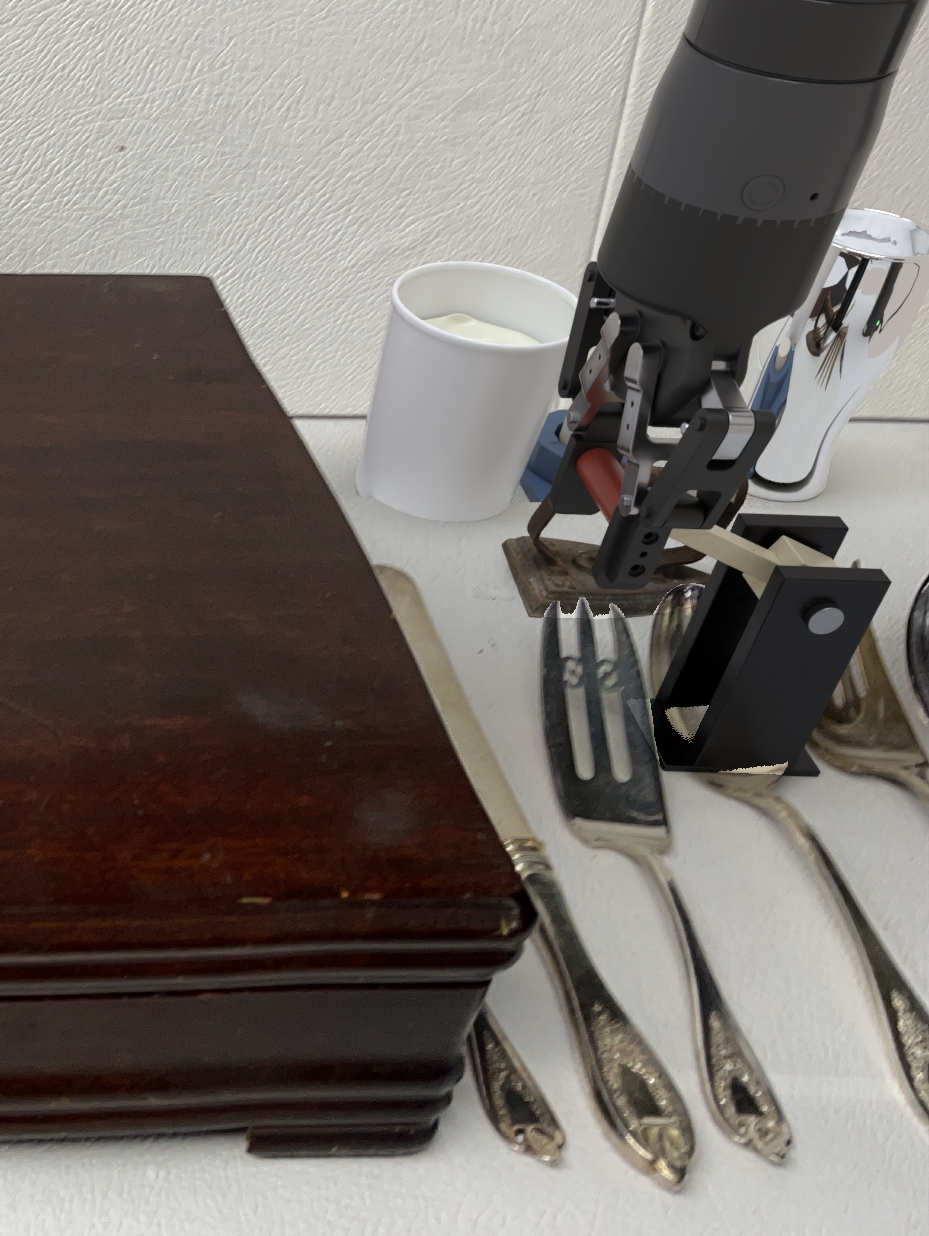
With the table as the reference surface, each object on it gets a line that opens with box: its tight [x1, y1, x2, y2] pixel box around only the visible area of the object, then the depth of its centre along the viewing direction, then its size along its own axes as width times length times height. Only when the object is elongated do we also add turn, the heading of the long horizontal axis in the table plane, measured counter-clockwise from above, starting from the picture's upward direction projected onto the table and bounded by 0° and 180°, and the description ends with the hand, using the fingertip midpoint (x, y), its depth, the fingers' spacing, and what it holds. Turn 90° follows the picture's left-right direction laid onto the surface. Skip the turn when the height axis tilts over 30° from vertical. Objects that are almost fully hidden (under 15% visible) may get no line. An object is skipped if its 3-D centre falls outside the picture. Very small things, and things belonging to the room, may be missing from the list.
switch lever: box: [576, 448, 839, 599], centre depth 76 cm, size 12×5×2 cm, turn 87°
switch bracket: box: [649, 512, 893, 778], centre depth 80 cm, size 7×6×12 cm
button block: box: [519, 408, 651, 504], centre depth 102 cm, size 10×8×2 cm
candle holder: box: [354, 260, 579, 524], centre depth 97 cm, size 10×10×12 cm
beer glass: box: [742, 205, 929, 503], centre depth 98 cm, size 7×7×15 cm
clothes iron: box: [501, 462, 749, 619], centre depth 91 cm, size 7×11×10 cm, turn 84°
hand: (594, 544), depth 77 cm, fingers closed on switch lever, 5 cm apart
